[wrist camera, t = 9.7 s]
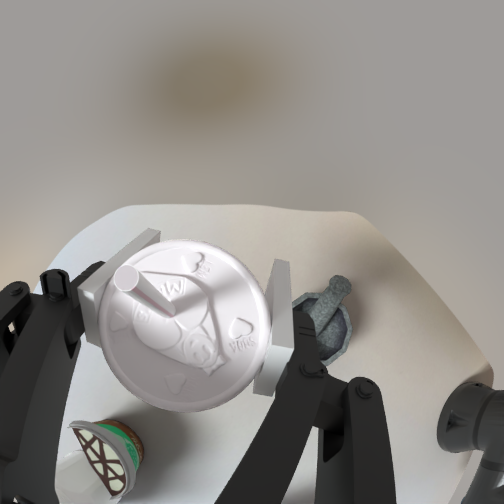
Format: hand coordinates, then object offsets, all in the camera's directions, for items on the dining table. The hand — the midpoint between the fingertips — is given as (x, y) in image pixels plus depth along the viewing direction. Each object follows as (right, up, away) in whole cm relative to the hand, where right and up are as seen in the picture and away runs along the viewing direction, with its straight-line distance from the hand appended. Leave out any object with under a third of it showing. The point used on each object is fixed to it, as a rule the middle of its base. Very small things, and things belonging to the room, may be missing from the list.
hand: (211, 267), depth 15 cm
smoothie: (-1, -5, +3) cm, 6 cm away
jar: (-24, -37, +13) cm, 46 cm away
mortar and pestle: (+10, -11, +25) cm, 29 cm away
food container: (-16, -28, +16) cm, 36 cm away
